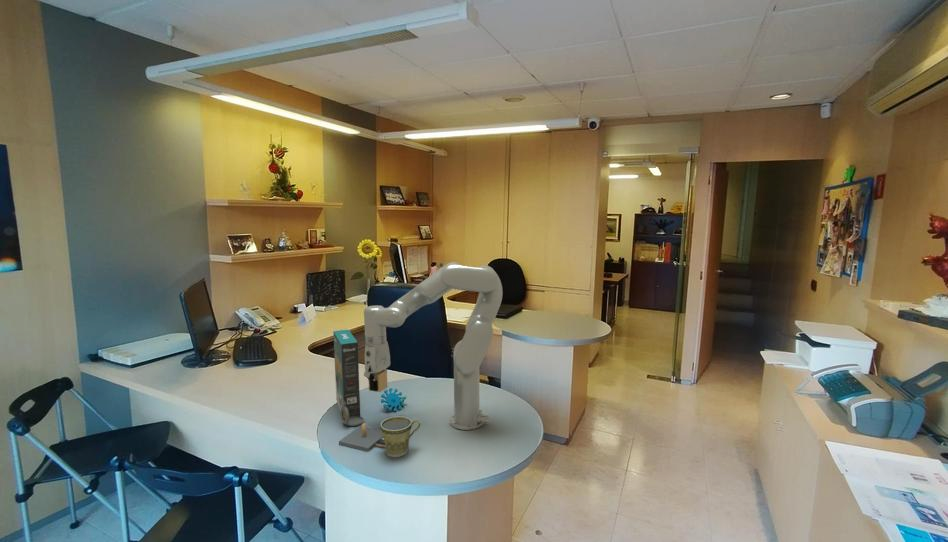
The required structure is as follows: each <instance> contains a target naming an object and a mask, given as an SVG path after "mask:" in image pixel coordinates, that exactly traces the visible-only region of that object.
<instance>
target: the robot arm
mask: <svg viewBox="0 0 948 542" xmlns="http://www.w3.org/2000/svg"><path fill="white" fill-rule="evenodd" d="M451 290H459V291H465V292H466V291H468V292H474V293H479V294H478V298H477V300H476V303H475V306H474V307H473V309H472V312H471V314H470V316H469V318H468V320H467V322H466V324H465V332H464V335H463V338H462V339H461V340H460V341H459V340H458V342H457V343H456V344H455V346H454V348H453V356H452V357H453V403H454V405H453V406H454V408H453V413H454V414H453V415H452V416H451V418H450V419H449V420H450V425H451V427H453V428H455V429H457V430H463V431H470V430H471V431H472V430H475V429H479V428H480V427H482V426H483V425H484V424H490V420H491V419H490V416H489V415H487V414H483V410H482V409H480V375H481V374H480V367H481V364H482V363H483V361H484V358H485V356H486V354H487V352H488V350H489V347H490V345H491V343H492V341H493V338H494V328H493V325H494V324H493V323H494V322H495V319H496V318H497V314H498V312H499V309H500V307H501V304H502V300H503V294H504V293H503V284H502V282H501V279H500V277H499V275H498V273H497V272H496V271H495V270H494V268H493V267H491V266H489V265H485V264H483V265H480V266H477V267H476V266H468V265H462V264H460V263H459V262H457V261H451V262H448V263H446V264H445V265H443V266H442V267H440V268H439V269H438V270H436V271H435V272H434V273H433V274H431V275H430V276H428V277H427V278H425V279H424V280H423V281H421V282H420V283H418V284H417V285H416V286H415V287H413V288H412V289H411V290H410V291H408V292H406V293H405V294H404V295H402V296H401V297H399V298H398V299H397V300H395V301H393V303H392V304H391V305H389V306H387V307H384V306H383V305H369V306H366V307H365V308H364V310H363V319H364V320H363V324H364V340H365V343H364V344H365V346H364V372H363V373H364V374H363V376H364V377H366V378H367V380H369V381H368V386H369V385H370V390H371V391H370V392H376V391H378V382H377V380H376V377H377V373H379V372H381V371H382V370H387V371H388V370H389V369H388V368H389V367H390V366H391V354H390V353H391V351H390V347H389V343H388V341H387V328H399V327H401V326H402V325H403V324H404V323H405V321H406V319H407V318H408V317H409V316H410V315H412V314H413V313H415V312H416V311H418V310H419V309H420V308H422V307H424V306H427V305H431V304H433V303H435V302H436V301H438V300H439V299H440V298H442V297H443V296H444V295H445V294H447V293H449V292H450V291H451ZM372 374H374V376H372Z"/></svg>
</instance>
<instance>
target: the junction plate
mask: <svg viewBox="0 0 948 542" xmlns="http://www.w3.org/2000/svg"><path fill="white" fill-rule="evenodd" d="M338 445H340V446H343V447H347V448H351V449H354V450H355V449H356V450H360V451H364V452H370V451H371V450H372V449H373V448H375V447H379V448H382V449H386V447H385V442H384V438H383V435H382V431H381V429H378V428H375V427H374V428H373V427H368V426H367V423H366V422H363V423H362V424H361V425H359V427H358V426H357V428H356V429H354V430H353V431H352V432H350V433H348V434H347V435H345V436H344V437H342V438H341V439H339V440H338Z"/></svg>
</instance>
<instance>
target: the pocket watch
mask: <svg viewBox="0 0 948 542" xmlns="http://www.w3.org/2000/svg"><path fill="white" fill-rule="evenodd" d="M343 402H344V406H342V407H341V411H340V416H341V420H342V423H343V424H344V425H346V426H349V427H358V426H361V425H362V423H365V422H364V421H365V418H364V417H361V416H360V417H351V418H349V411H348V409H347V407H346V402H345V401H344V400H343Z"/></svg>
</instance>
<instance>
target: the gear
mask: <svg viewBox="0 0 948 542" xmlns="http://www.w3.org/2000/svg"><path fill="white" fill-rule="evenodd" d="M398 391H399V389H398V388H395V389H394V391H393V388H392V387H391V388H389V389H384V390H383V392H384V393H382V394H381V395H380V397H381V398H382V399H380V403H381V404H382V405H383V408H384V409H386V408H387V407H388V409H387V411H388V412H391V411H392V409H393V408H394V409H393V412H394V413H396V412H397V411H398V410H399V411H400V410H402V409H403V406H405V400H406V399H407V398H408V397H407V395H404V396H402V395H403V392H402V391H400V392H399V393H397V392H398ZM388 392H389V393H388ZM397 407H398V408H397Z"/></svg>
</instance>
